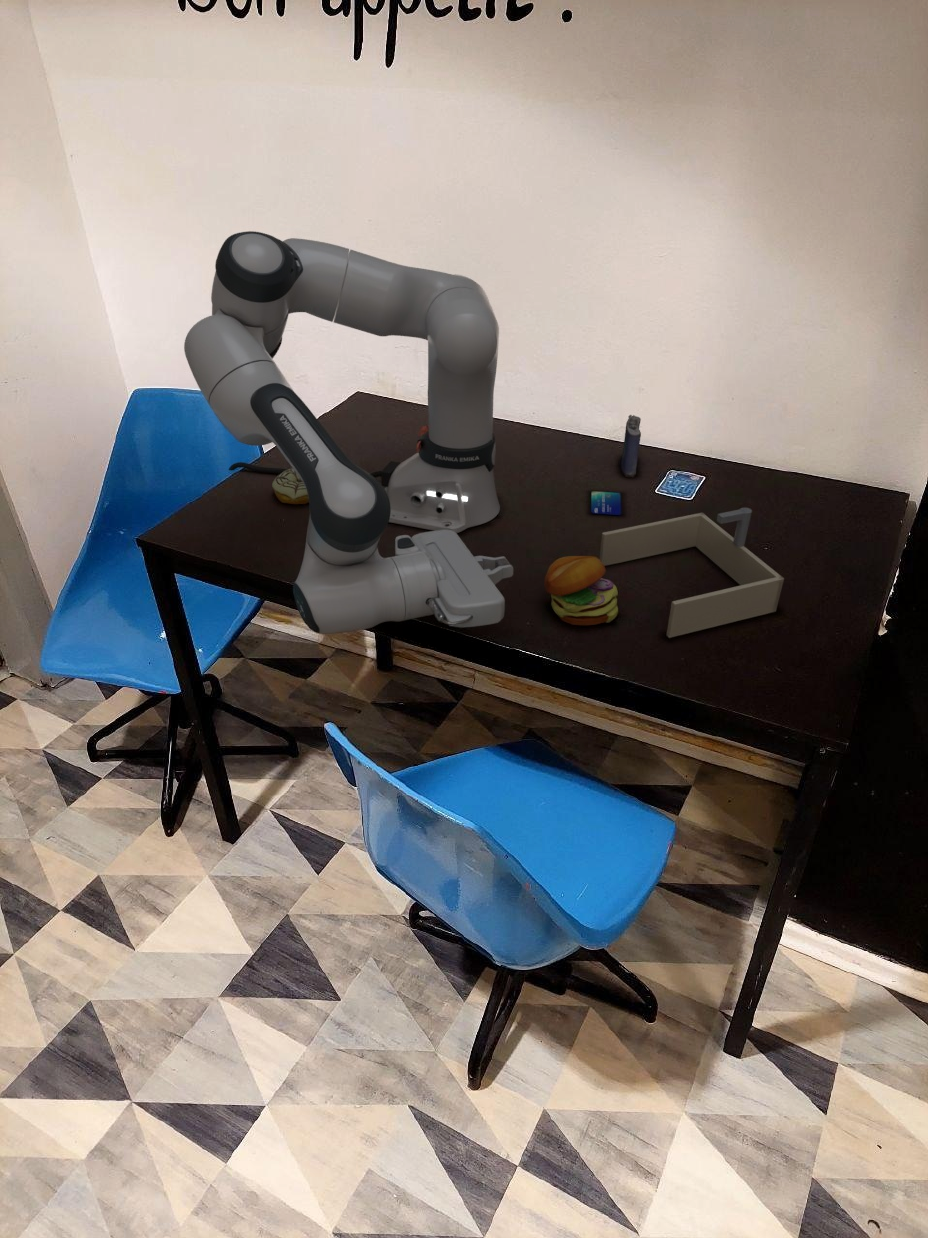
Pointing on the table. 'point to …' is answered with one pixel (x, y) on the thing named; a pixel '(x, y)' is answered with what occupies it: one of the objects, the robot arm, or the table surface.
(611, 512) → the credit card
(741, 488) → the table surface
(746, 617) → the grey u-shaped wall
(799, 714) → the table surface
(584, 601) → the cheeseburger
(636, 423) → the flask
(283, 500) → the decorated donut
